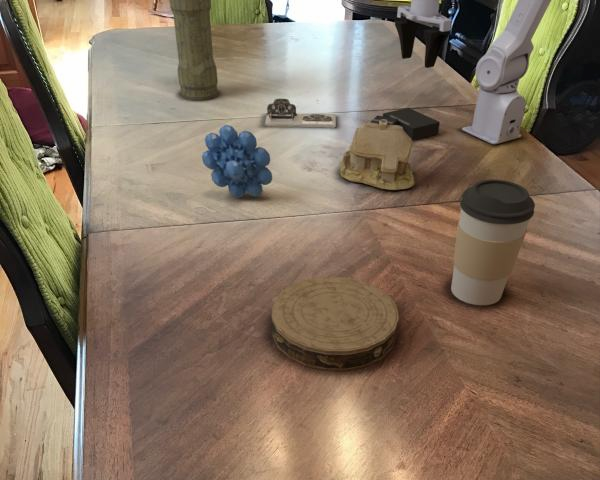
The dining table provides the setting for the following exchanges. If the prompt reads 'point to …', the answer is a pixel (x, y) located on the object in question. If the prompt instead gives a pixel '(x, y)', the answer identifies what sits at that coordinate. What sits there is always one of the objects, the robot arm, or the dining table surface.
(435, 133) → the base pad
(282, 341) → the wood slice
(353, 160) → the ceramic model
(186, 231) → the dining table surface
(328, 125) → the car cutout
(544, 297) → the dining table surface
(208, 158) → the blue knobbed flower
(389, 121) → the black rectangular block
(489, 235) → the coffee cup
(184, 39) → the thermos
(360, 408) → the dining table surface
